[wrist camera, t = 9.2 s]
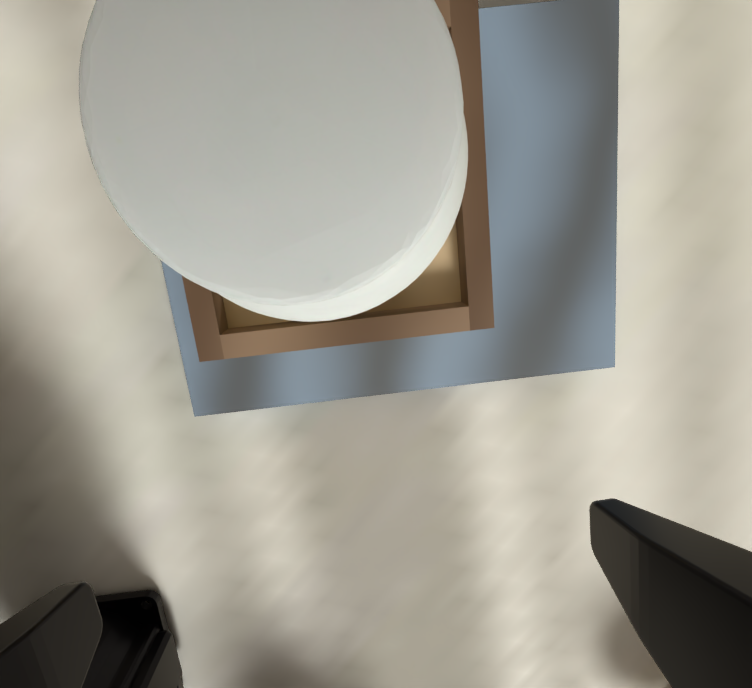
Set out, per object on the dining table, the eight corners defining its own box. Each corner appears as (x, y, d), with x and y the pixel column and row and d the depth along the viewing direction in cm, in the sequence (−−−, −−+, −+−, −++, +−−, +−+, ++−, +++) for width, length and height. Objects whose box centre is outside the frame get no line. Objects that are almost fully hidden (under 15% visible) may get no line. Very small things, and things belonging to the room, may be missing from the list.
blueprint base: (201, 407, 21) (142, 476, 15) (128, 56, 18) (15, -31, 12) (602, 360, 21) (697, 409, 15) (604, 7, 18) (726, -103, 12)
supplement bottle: (429, 266, 15) (555, 326, 5) (262, 297, 15) (103, 410, 5) (401, 80, 14) (501, -255, 4) (217, 114, 14) (-88, -143, 4)
